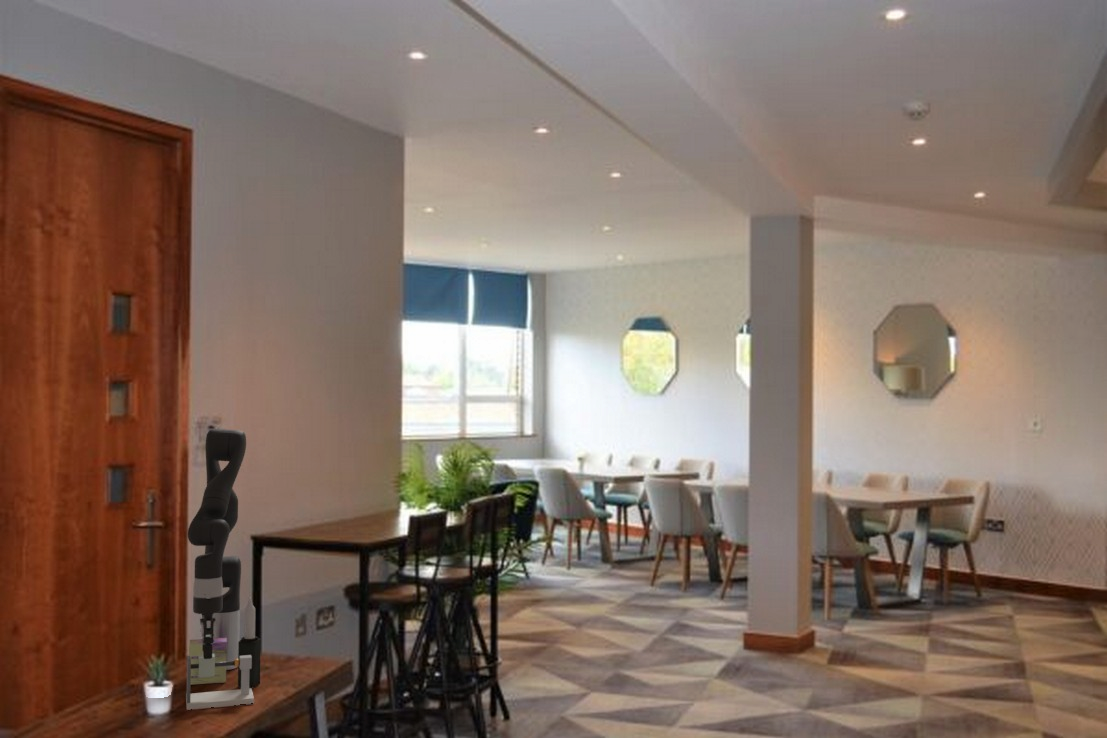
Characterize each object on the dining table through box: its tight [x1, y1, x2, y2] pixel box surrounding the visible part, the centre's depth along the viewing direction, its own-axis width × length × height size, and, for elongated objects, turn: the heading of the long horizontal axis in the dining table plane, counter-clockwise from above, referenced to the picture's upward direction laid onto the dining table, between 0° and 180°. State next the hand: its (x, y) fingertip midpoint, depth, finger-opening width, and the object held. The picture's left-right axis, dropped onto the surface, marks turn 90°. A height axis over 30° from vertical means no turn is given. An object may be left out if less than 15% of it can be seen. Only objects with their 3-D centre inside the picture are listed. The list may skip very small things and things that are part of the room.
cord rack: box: [185, 655, 255, 711], centre depth 282 cm, size 10×17×12 cm, turn 110°
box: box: [188, 638, 227, 686], centre depth 302 cm, size 10×6×12 cm, turn 108°
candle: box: [237, 596, 262, 689], centre depth 298 cm, size 5×5×25 cm
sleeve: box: [198, 654, 215, 677], centre depth 281 cm, size 4×4×5 cm
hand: (207, 655), depth 281 cm, fingers open, 8 cm apart
